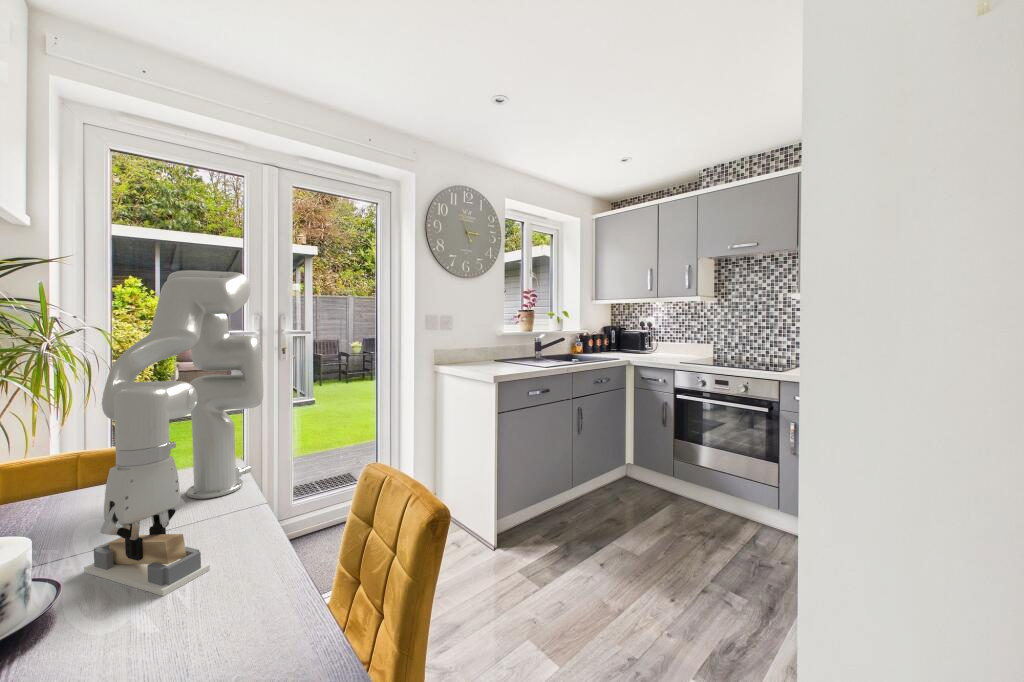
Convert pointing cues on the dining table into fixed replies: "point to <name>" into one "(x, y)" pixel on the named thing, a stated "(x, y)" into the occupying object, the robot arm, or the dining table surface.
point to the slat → (152, 549)
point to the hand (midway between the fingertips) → (146, 552)
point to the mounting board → (148, 571)
